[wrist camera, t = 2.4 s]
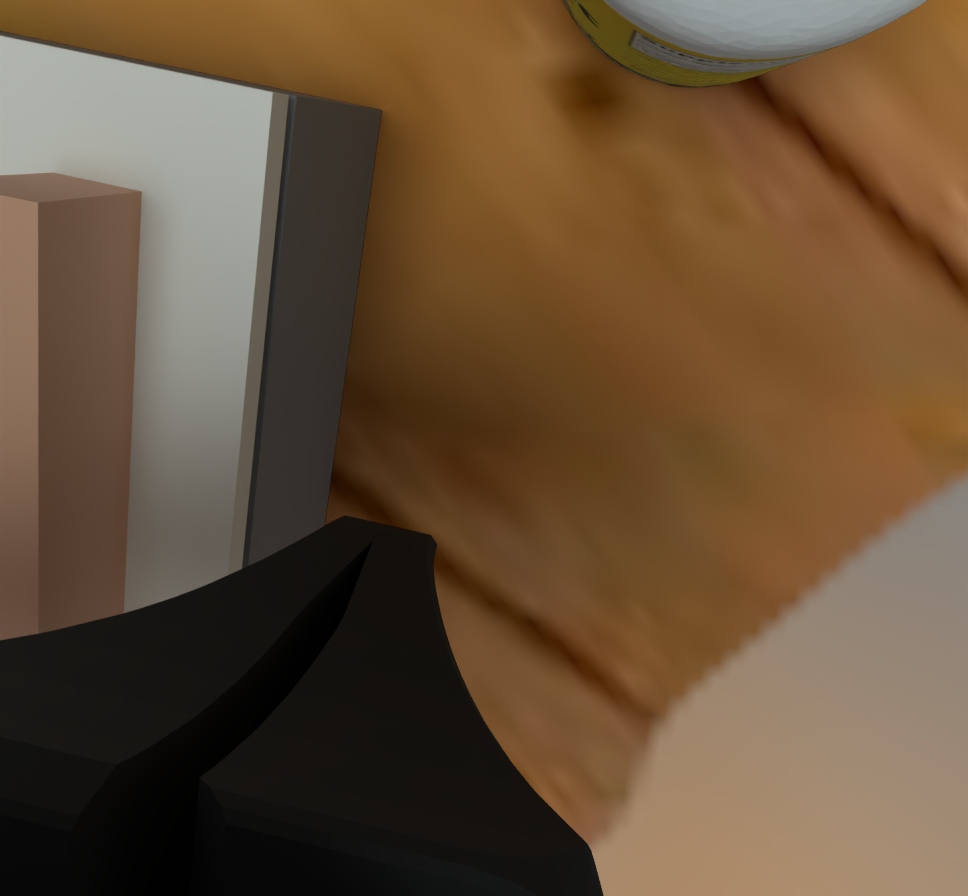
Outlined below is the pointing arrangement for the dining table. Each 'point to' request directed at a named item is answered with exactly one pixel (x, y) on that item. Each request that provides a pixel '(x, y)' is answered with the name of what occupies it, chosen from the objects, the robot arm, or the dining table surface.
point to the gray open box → (304, 309)
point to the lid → (127, 328)
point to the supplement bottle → (724, 34)
